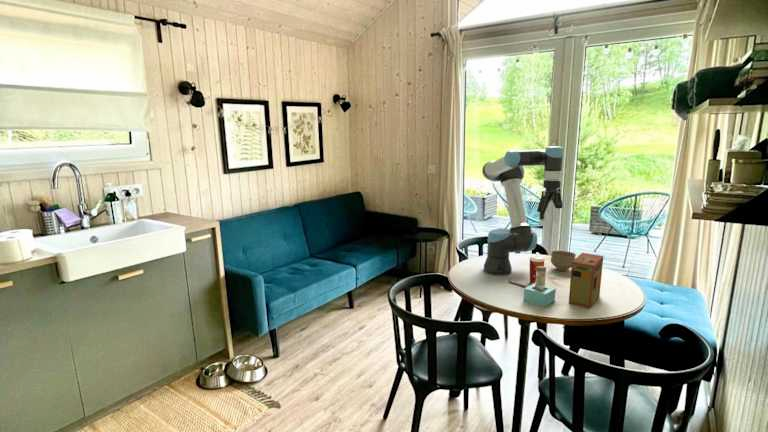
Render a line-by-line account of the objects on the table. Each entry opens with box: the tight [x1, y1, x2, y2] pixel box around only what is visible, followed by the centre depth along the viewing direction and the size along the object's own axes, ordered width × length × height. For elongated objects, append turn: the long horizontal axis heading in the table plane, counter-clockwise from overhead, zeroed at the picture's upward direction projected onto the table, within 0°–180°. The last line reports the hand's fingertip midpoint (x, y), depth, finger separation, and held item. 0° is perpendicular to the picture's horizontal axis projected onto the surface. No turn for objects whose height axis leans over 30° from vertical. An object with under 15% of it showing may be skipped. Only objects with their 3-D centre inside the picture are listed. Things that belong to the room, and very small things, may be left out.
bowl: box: [550, 250, 577, 272], centre depth 226 cm, size 13×13×10 cm
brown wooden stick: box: [507, 280, 529, 288], centre depth 206 cm, size 10×1×1 cm, turn 41°
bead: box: [523, 283, 557, 308], centre depth 187 cm, size 10×10×6 cm
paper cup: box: [528, 254, 546, 285], centre depth 207 cm, size 8×8×14 cm
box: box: [568, 252, 604, 310], centre depth 184 cm, size 17×9×20 cm, turn 140°
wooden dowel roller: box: [535, 266, 547, 292], centre depth 186 cm, size 4×4×16 cm
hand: (549, 223), depth 196 cm, fingers open, 13 cm apart
